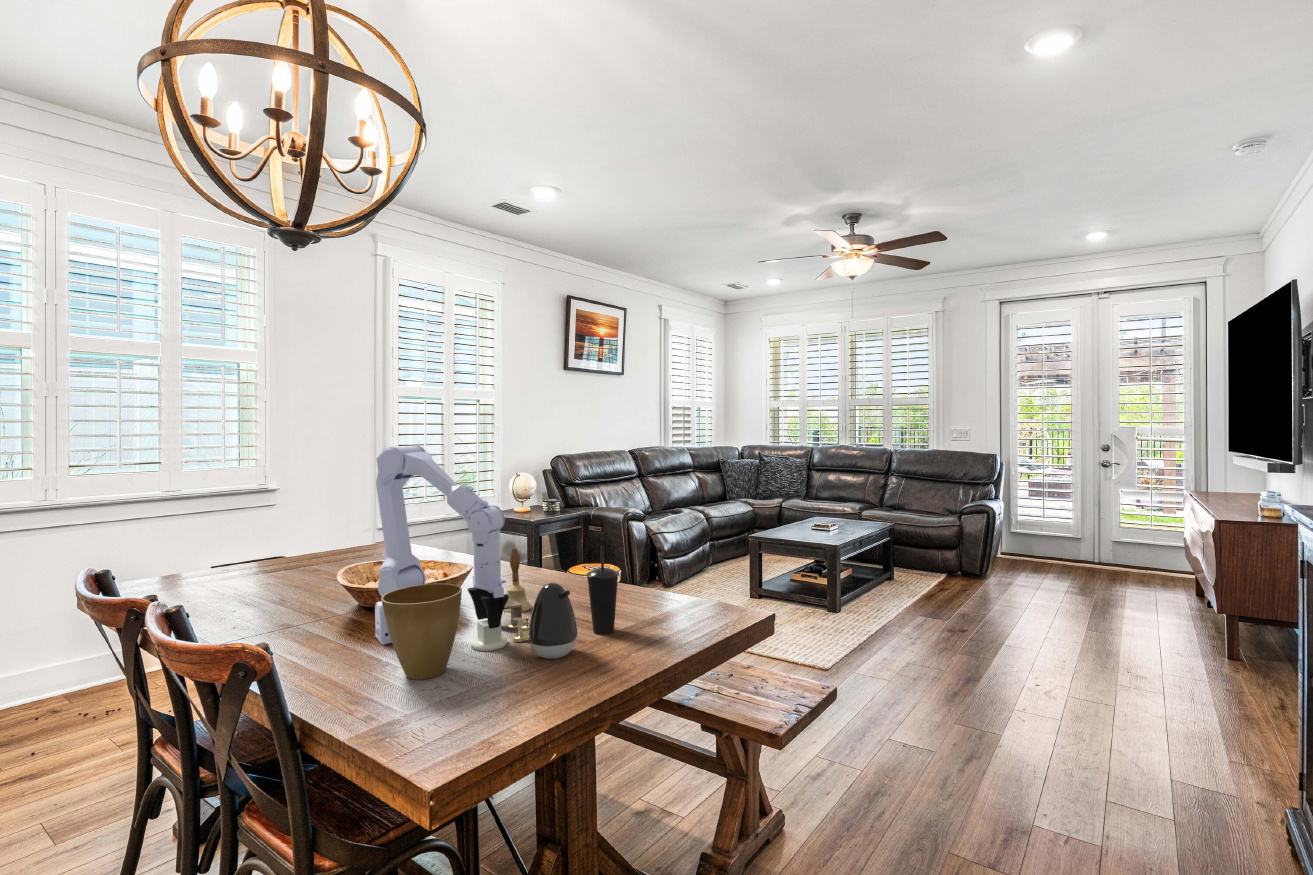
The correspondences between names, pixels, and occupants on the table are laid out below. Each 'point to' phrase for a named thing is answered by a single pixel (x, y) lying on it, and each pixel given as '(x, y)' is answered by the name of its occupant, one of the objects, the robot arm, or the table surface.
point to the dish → (488, 645)
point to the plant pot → (423, 626)
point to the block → (488, 633)
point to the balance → (519, 629)
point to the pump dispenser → (552, 623)
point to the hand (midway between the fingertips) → (488, 622)
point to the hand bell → (517, 584)
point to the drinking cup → (603, 597)
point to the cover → (514, 608)
